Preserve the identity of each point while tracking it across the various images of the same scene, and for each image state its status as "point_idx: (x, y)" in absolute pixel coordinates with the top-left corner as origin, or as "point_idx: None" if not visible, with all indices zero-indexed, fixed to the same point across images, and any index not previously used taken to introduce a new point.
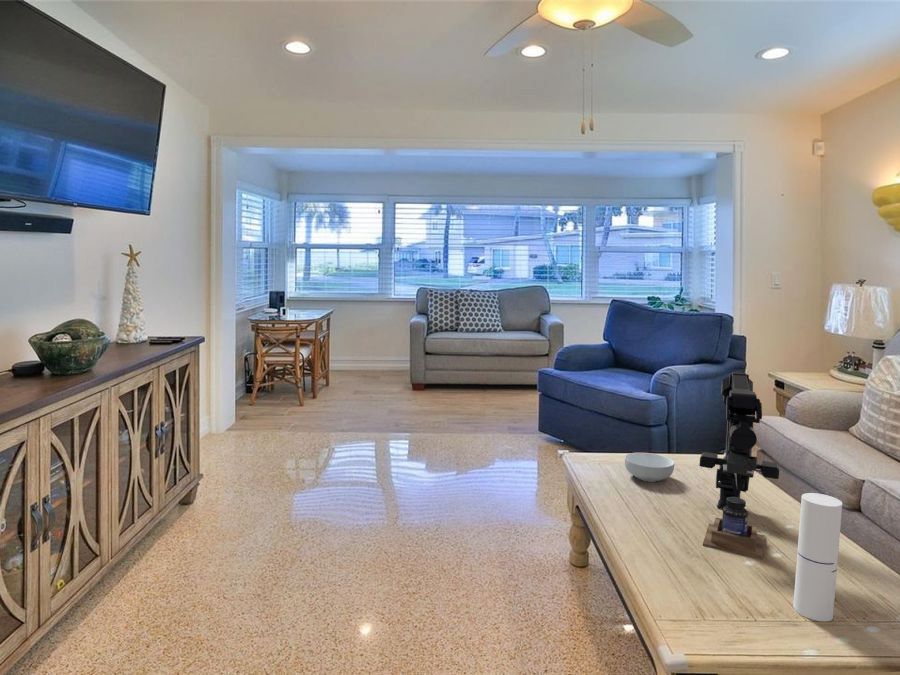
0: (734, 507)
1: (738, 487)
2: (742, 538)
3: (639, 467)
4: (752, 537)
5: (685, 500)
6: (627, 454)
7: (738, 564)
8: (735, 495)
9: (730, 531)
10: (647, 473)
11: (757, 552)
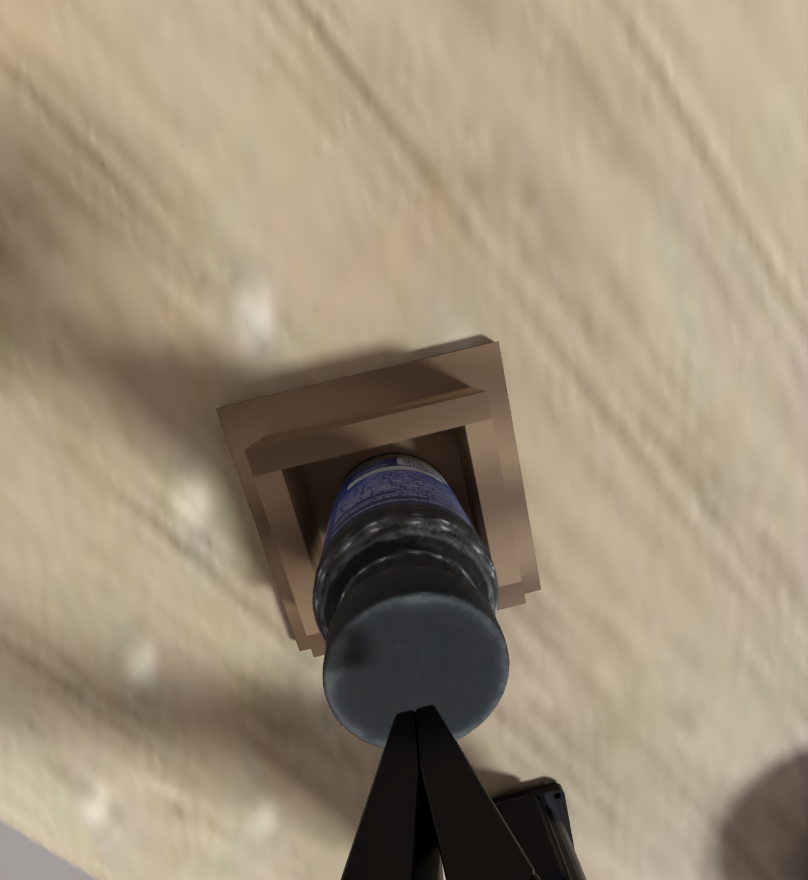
0: (399, 565)
1: (402, 855)
2: (316, 432)
3: None
4: (277, 485)
5: (693, 759)
6: None
7: (285, 252)
8: (427, 706)
9: (398, 466)
10: None
11: (253, 439)
